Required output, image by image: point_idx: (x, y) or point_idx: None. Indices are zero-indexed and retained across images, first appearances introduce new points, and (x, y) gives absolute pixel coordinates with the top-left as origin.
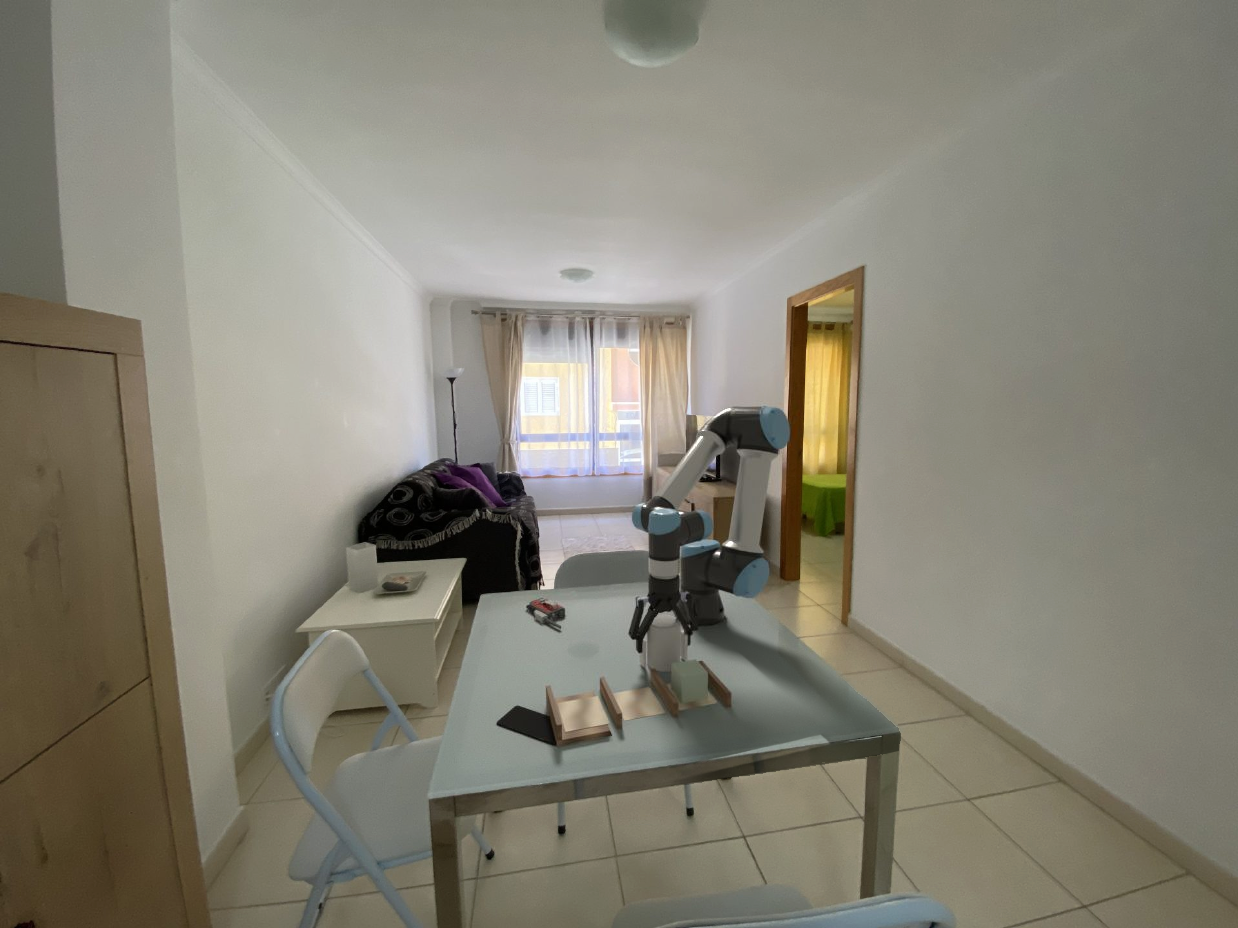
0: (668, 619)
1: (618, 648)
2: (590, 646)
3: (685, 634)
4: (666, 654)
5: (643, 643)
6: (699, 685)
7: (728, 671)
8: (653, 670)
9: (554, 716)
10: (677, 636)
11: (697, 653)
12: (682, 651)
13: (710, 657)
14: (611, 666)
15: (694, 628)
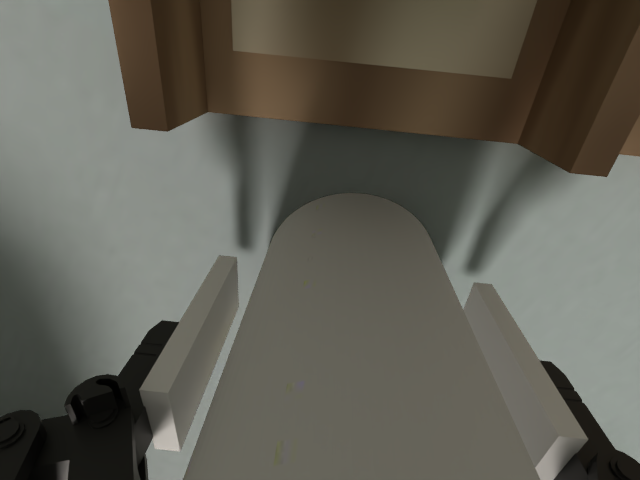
0: None
1: None
2: None
3: (155, 402)
4: (400, 273)
5: (576, 420)
6: None
7: (10, 106)
8: (606, 143)
9: None
10: (270, 390)
11: (138, 311)
12: (226, 307)
13: (84, 263)
14: (558, 361)
15: (24, 438)
